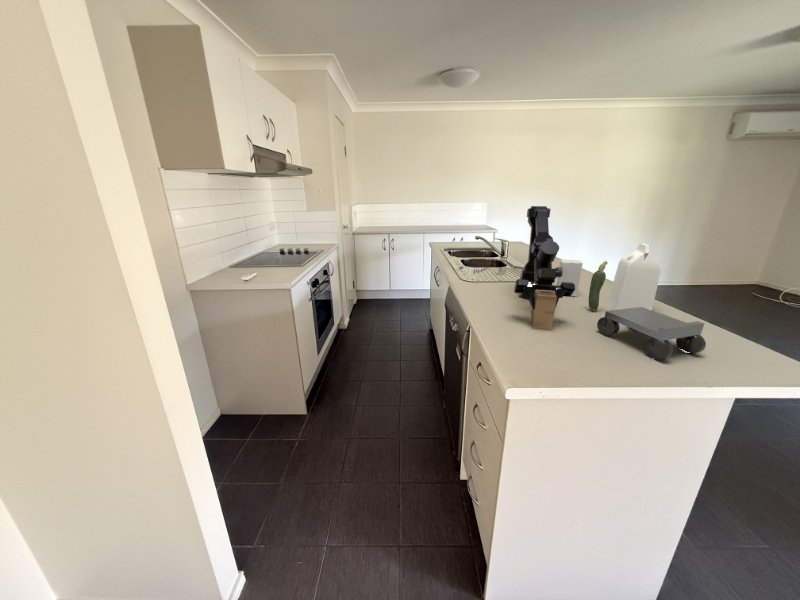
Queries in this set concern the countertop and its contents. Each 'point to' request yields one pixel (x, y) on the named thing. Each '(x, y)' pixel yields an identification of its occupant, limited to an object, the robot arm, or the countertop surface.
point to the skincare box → (570, 273)
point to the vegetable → (596, 287)
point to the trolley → (655, 330)
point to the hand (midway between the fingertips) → (543, 309)
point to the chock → (543, 310)
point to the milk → (635, 280)
